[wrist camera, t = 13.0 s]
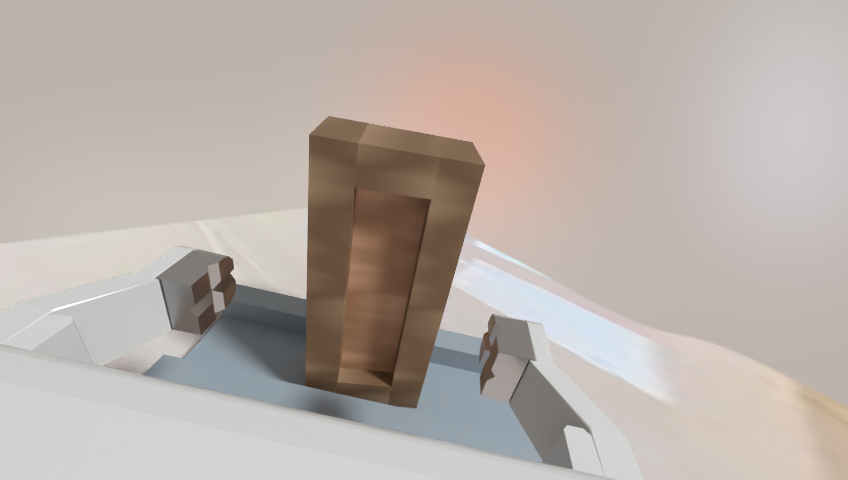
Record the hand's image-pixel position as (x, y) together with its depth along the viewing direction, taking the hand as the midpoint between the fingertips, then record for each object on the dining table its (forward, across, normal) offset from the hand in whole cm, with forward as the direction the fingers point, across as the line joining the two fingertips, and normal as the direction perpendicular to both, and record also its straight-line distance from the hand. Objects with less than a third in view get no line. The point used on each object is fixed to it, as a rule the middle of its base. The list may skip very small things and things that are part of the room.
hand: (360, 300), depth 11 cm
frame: (+5, 0, +10) cm, 11 cm away
